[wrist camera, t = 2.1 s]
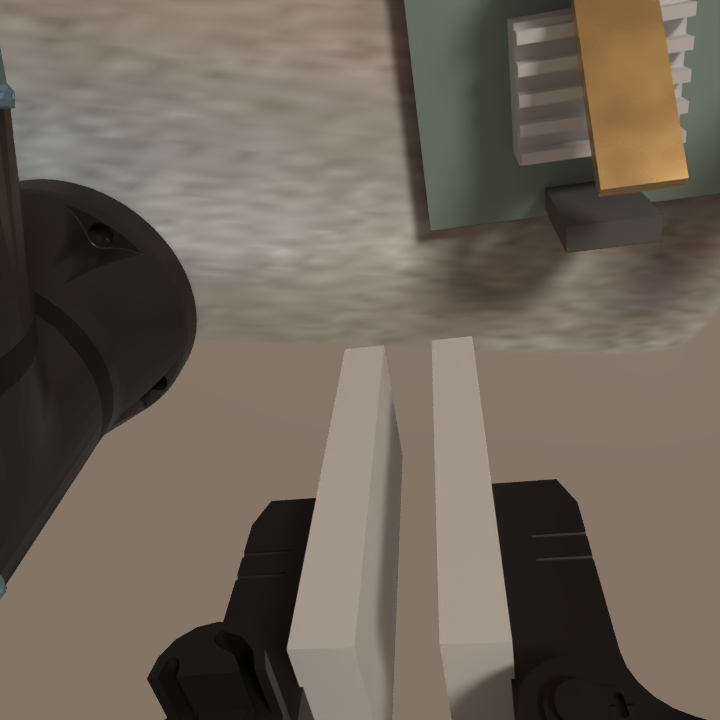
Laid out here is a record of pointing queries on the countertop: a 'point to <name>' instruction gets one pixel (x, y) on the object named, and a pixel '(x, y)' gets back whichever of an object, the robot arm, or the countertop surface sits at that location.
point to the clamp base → (545, 117)
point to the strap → (628, 96)
